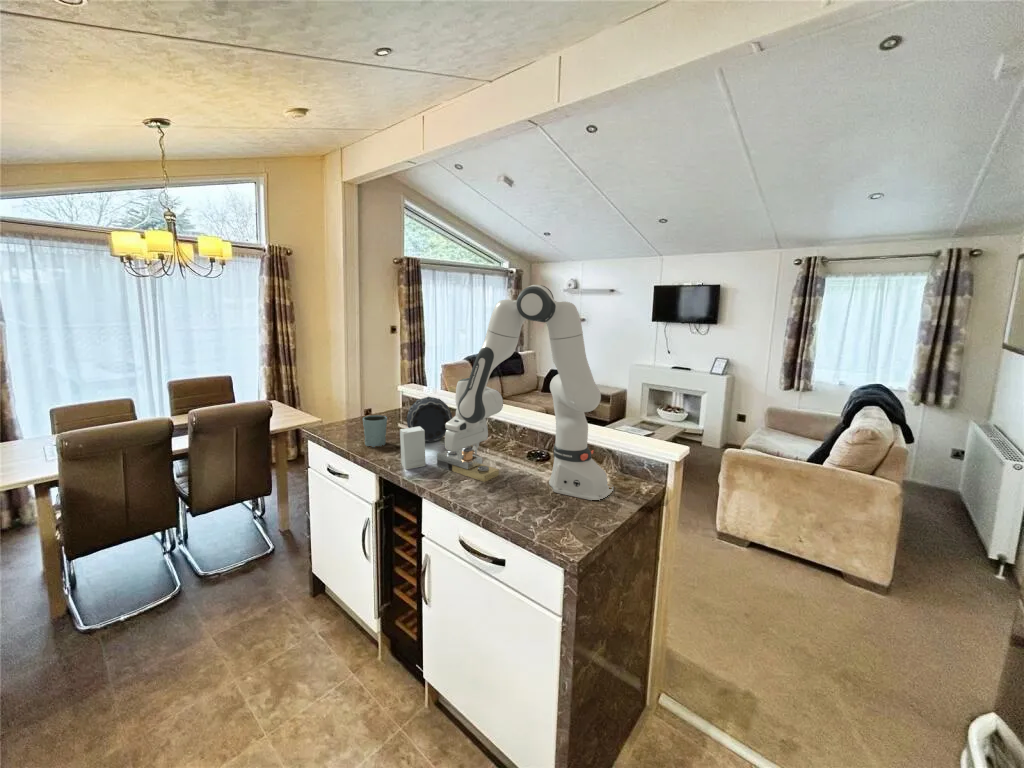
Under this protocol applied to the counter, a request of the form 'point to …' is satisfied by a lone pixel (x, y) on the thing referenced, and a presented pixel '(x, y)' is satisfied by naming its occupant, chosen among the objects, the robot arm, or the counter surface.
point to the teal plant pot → (375, 430)
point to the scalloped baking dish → (429, 417)
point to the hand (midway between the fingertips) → (467, 456)
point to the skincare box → (412, 447)
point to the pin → (467, 453)
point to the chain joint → (466, 466)
